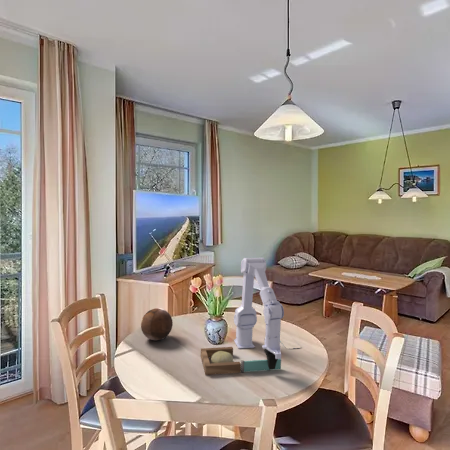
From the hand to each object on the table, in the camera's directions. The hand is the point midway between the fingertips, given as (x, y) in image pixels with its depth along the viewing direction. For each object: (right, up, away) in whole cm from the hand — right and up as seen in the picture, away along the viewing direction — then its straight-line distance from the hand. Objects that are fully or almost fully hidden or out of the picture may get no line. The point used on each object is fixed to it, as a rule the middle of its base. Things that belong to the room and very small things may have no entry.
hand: (271, 368), depth 129 cm
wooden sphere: (-52, +1, +31) cm, 60 cm away
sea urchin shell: (-19, -2, +8) cm, 21 cm away
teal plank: (-4, -2, +3) cm, 5 cm away
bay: (-20, -1, +8) cm, 21 cm away
